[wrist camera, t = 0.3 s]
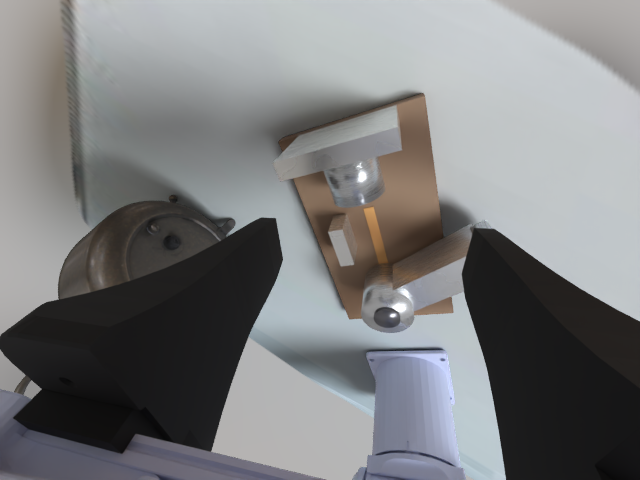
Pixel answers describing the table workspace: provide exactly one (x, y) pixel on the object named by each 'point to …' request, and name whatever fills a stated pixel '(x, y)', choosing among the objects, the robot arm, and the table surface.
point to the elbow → (415, 281)
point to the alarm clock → (135, 247)
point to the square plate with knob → (345, 166)
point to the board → (382, 208)
